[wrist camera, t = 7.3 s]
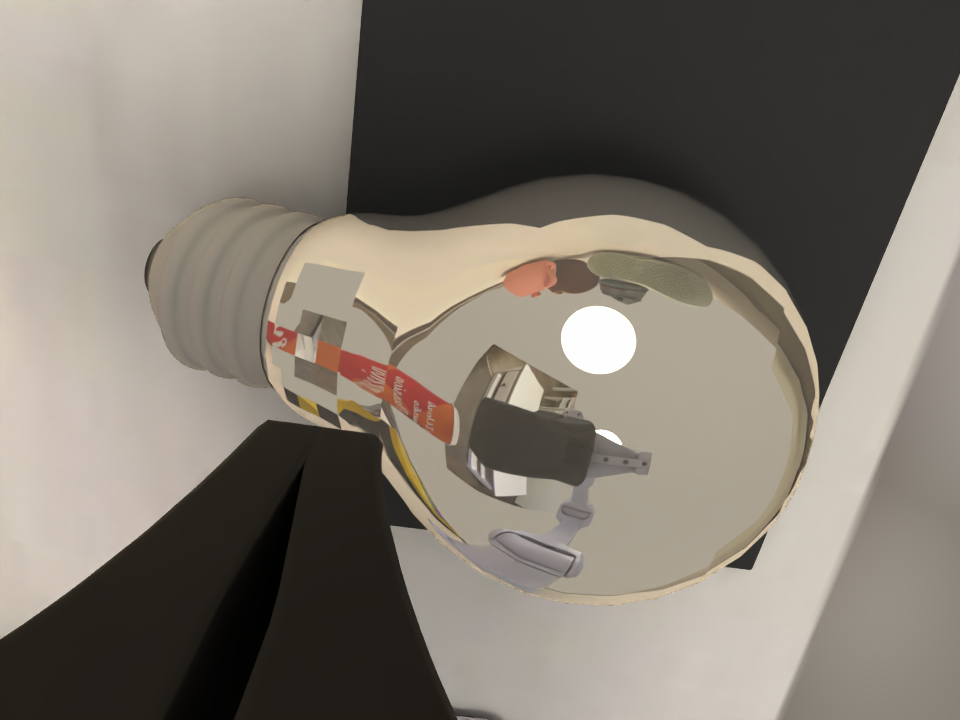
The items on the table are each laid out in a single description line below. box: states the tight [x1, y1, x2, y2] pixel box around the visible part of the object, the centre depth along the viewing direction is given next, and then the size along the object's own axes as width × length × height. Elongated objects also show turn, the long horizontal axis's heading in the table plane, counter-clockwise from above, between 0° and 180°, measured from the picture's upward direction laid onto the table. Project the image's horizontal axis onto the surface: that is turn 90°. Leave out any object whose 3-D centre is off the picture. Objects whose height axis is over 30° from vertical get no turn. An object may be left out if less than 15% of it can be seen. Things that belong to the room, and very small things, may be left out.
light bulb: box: [144, 173, 819, 606], centre depth 14 cm, size 7×7×12 cm
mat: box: [346, 0, 960, 570], centre depth 16 cm, size 16×11×1 cm
